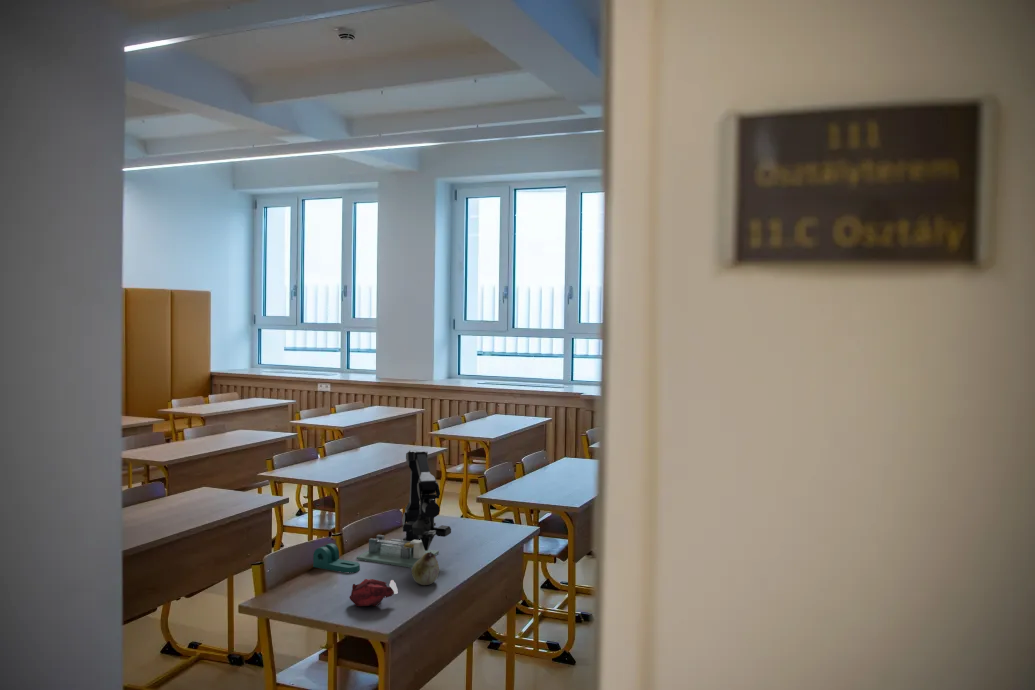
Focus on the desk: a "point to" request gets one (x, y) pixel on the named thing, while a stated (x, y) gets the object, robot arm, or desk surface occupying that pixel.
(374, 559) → the board
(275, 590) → the desk surface
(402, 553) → the grey rail mechanism
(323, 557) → the bracket
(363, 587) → the red meat drumstick
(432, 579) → the fruit
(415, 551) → the white block
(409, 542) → the gold-ended metal bar
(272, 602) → the desk surface
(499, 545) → the desk surface
